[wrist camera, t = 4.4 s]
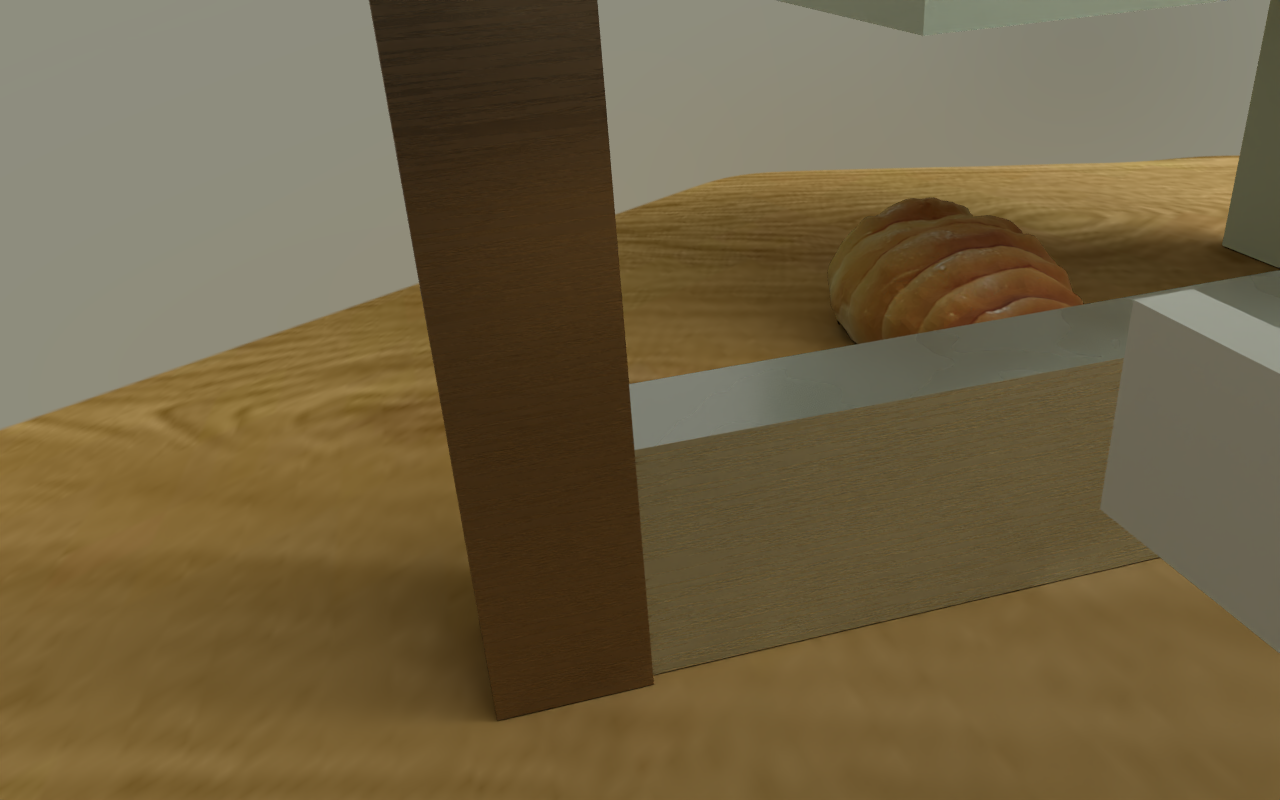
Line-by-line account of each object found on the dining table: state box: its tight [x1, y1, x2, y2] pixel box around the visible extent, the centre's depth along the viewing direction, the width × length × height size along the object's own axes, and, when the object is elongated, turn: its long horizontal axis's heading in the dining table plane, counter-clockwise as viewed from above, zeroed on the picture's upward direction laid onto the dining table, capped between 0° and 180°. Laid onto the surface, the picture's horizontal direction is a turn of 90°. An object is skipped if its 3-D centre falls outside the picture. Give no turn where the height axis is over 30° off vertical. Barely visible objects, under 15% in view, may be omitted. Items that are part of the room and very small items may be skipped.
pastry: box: [827, 198, 1084, 344], centre depth 31 cm, size 9×7×4 cm
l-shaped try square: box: [369, 0, 1280, 721], centre depth 19 cm, size 24×3×14 cm, turn 104°
